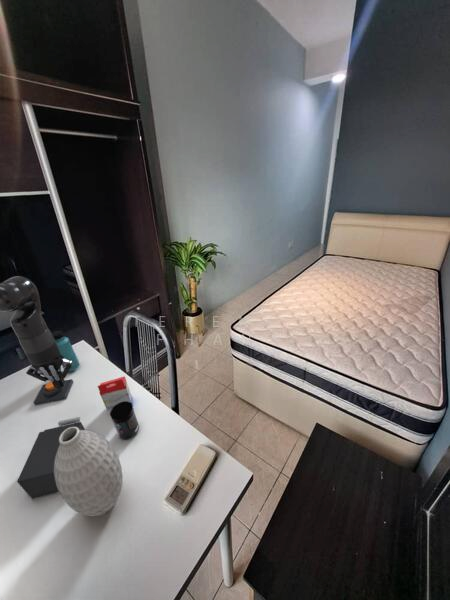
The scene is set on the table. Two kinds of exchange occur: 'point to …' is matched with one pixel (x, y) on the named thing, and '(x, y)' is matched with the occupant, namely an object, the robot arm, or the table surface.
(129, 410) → the supplement container
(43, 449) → the cabinet
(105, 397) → the ink box
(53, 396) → the block
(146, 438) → the table surface
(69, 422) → the drawer
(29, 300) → the robot arm
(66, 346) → the beverage bottle
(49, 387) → the button
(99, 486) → the vase
